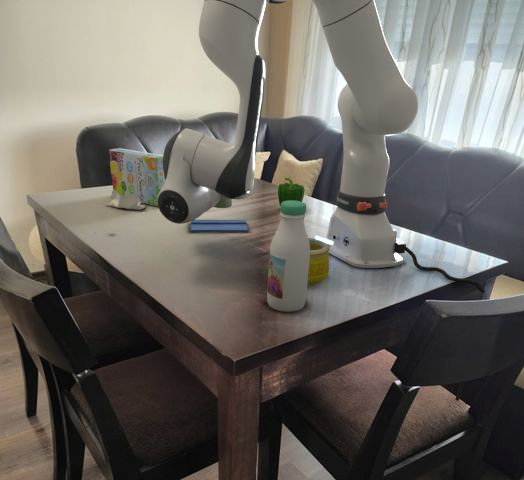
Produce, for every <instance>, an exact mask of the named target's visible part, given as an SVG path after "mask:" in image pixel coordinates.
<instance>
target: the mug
mask: <svg viewBox="0 0 524 480" xmlns="http://www.w3.org/2000/svg"><path fill="white" fill-rule="evenodd" d="M308 239H309V243H310V260H309V271H308V282H307V286H313V285H318V284H320V283H323V282H324V281H326V280H327V278H328V277H329V273H330V253H329V252H328V251H329V246H328V245H327V244H326V243H325V242H323V241H320V240H317V239H315V238H312V237H308Z"/></svg>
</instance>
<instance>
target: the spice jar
mask: <svg viewBox="0 0 524 480" xmlns="http://www.w3.org/2000/svg"><path fill="white" fill-rule="evenodd" d="M231 207H233V199H227V198H221V199H220V201H219V202H218V203H217V204H216V205H215V206H214V207H213V208H216V209H228V208H231Z"/></svg>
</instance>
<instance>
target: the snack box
mask: <svg viewBox="0 0 524 480" xmlns="http://www.w3.org/2000/svg"><path fill="white" fill-rule="evenodd" d="M163 155H164V154H157V153H151V152H146V151H139V150H133V149H127V148H123V147H119V148H112V149H108V156H109V157H108V158H109V165H110V175H111V183H112V191H117V192H118V194H119V195H123V196H124V195H132V194H138V196H139V199H140V202H141V204H145V205H150V206H154V207H158V204H157V199H158V194H159V192H160V190H161V189H162V187H163V185H164V184H165V181H166V180H165V177H164V172H163Z"/></svg>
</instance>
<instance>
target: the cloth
mask: <svg viewBox="0 0 524 480" xmlns="http://www.w3.org/2000/svg"><path fill="white" fill-rule="evenodd" d="M190 232H191V233H249V228H248V224H247V220H246V219H194V220H193V221H190Z"/></svg>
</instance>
